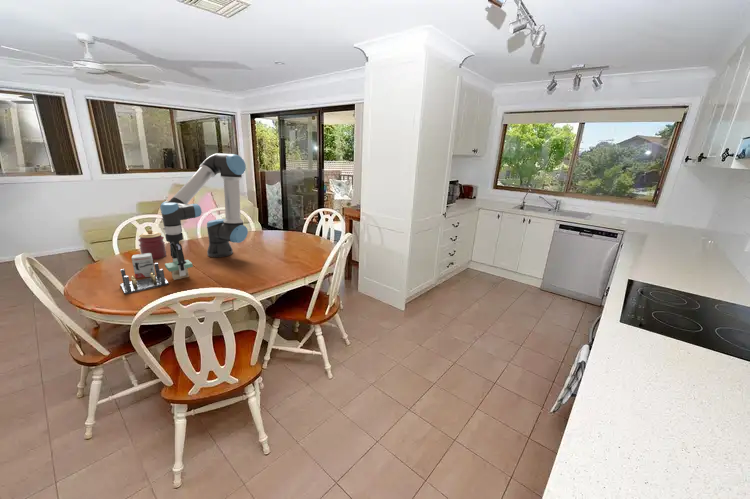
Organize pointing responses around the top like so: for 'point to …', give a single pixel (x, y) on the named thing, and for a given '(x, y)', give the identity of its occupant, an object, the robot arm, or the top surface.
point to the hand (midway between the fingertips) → (180, 272)
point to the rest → (177, 276)
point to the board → (174, 266)
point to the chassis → (143, 281)
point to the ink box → (143, 265)
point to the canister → (152, 244)
